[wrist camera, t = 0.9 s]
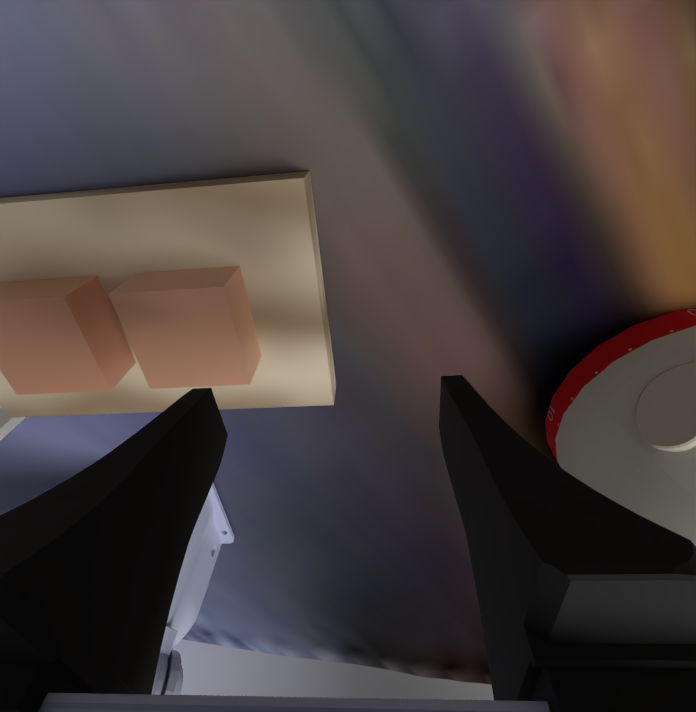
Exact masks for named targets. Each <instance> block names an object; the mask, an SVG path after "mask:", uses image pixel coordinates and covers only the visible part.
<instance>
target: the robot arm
mask: <svg viewBox="0 0 696 712" xmlns="http://www.w3.org/2000/svg"><path fill="white" fill-rule="evenodd" d="M439 429H440V436H441V442H442V448H443V454H444V458H445V462H446V466H447V469H448V473H449V476H450V480H451V483H452V486H453V490H454V493H455V497H456V500H457V503H458V507H459V510H460V514H461V517H462V521H463V524H464V528H465V532H466V536H467V541H468V547H469V552H470V557H471V563H472V568H473V573H474V579H475V585H476V590H477V596H478V602H479V607H480V613H481V619H482V625H483V631H484V638H485V644H486V650H487V656H488V663H489V669H490V676H491V682H492V688H493V695H494V700H439V699H438V700H437V699H379V698H322V697H320V698H319V697H263V696H207V695H203V696H202V695H180V693H181V688H182V682H183V669H182V665H181V657H180V654H179V652H177V651H175V650H172V647H174V646H175V645H176V644H177V643H178V642H179V641H180V640H181V639H182V638H183V637H184V636H185V635H186V634H187V633H188V631H189V630H190V628H191V627H192V626H193V624H194V622H195V620H196V618H197V616H198V614H199V611H200V608H201V605H202V602H203V599H204V596H205V593H206V590H207V587H208V584H209V581H210V578H211V575H212V572H213V569H214V566H215V563H216V560H217V557H218V554H219V551H220V548H221V544H223V543H232V542H233V541H234V534H233V531H232V529H231V526H230V524H229V521H228V519H227V516H226V514H225V511H224V509H223V506H222V504H221V501H220V499H219V496H218V493H217V491H216V488H215V486H214V483H213V481H214V479H215V476H216V474H217V471H218V469H219V466H220V463H221V460H222V456H223V452H224V448H225V444H226V440H227V436H228V435H227V432H226V429H225V426H224V423H223V421H222V418H221V415H220V412H219V409H218V406H217V403H216V400H215V397H214V394H213V391H212V389H211V388H196V389H192V390H190V391H189V392H187V393H186V394H185V395H183V396H182V397H181V398H179V399H178V400H177V401H176V402H174V403H173V404H172V405H171V406H169V407H168V408H167V409H166V410H164V411H163V412H162V413H161V414H160V415H158V416H157V417H156V418H155V419H153V420H152V421H151V422H150V423H148V424H147V425H146V426H145V427H143V428H142V429H141V430H139V431H138V432H137V433H135V434H134V435H133V436H131V437H130V438H129V439H127V440H126V441H125V442H123V443H122V444H121V445H119V446H118V447H117V448H115V449H114V450H113V451H111V452H110V453H108V454H107V455H106V456H104V457H103V458H101V459H100V460H98V461H97V462H95V463H94V464H92V465H91V466H89V467H87V468H86V469H84V470H83V471H81V472H80V473H78V474H76V475H75V476H73V477H71V478H70V479H68V480H66V481H65V482H63V483H61V484H59V485H57V486H56V487H54V488H52V489H50V490H49V491H47V492H45V493H43V494H41V495H40V496H38V497H36V498H34V499H33V500H31V501H29V502H27V503H25V504H23V505H21V506H19V507H17V508H15V509H13V510H11V511H9V512H7V513H5V514H3V515H1V516H0V712H696V546H695V545H694V544H693V543H692V541H691V540H689V539H687V538H685V537H683V536H681V535H679V534H677V533H675V532H673V531H671V530H669V529H666V528H664V527H662V526H660V525H658V524H656V523H654V522H652V521H650V520H648V519H646V518H644V517H642V516H640V515H638V514H636V513H634V512H632V511H631V510H629V509H627V508H625V507H624V506H622V505H620V504H618V503H616V502H615V501H613V500H611V499H609V498H607V497H606V496H604V495H602V494H601V493H599V492H597V491H596V490H594V489H592V488H591V487H589V486H588V485H586V484H585V483H583V482H581V481H580V480H578V479H577V478H575V477H574V476H572V475H571V474H569V473H568V472H566V471H565V470H563V469H562V468H560V467H559V466H558V465H556V464H555V463H553V462H552V461H551V460H550V459H548V458H547V457H546V456H544V455H543V454H542V453H540V452H539V451H538V450H536V449H535V448H534V447H533V446H532V445H530V444H529V443H528V442H527V441H526V440H525V439H523V438H522V437H521V436H520V435H519V434H518V433H517V432H516V431H514V430H513V429H512V428H511V427H510V426H509V425H508V424H507V423H506V422H505V421H504V420H503V419H502V418H501V417H500V416H499V415H498V414H497V413H496V412H495V411H494V410H493V409H492V408H491V407H490V406H489V405H488V404H487V403H486V401H485V400H484V399H483V398H482V397H481V396H480V395H479V394H478V393H477V391H476V390H475V389H474V388H473V387H472V386H471V384H470V383H469V382H468V381H467V380H466V379H465V378H464V377H463V376H462V375H457V376H441V395H440V419H439Z"/></svg>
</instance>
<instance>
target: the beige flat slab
mask: <svg viewBox="0 0 696 712" xmlns="http://www.w3.org/2000/svg"><path fill="white" fill-rule="evenodd" d="M230 266H240V267H241V271H242V276H243V280H244V284H245V288H246V293H247V297H248V301H249V305H250V309H251V314H252V318H253V322H254V326H255V330H256V335H257V339H258V343H259V347H260V351H261V356H262V357H261V359H260V362H259V364H258V366H257V369H256V371H255V374H254V376H253V378H252V381H251V383H250V385H227V386H205V387H182V388H159V389H150V388H149V385H148V383H147V381H146V379H145V376H144V374H143V372H142V369H141V367H140V365H139V363H138V360H137V358H136V356H135V354H134V351H133V349H132V347H131V344H130V342H129V340H128V338H127V335H126V333H125V331H124V328H123V326H122V324H121V322H120V319H119V317H118V315H117V313H116V310H115V308H114V306H113V303H112V301H111V299H110V297H109V293H111V292H112V291H113V290H115V289H116V288H118V287H119V286H120V285H122V284H123V283H124V282H126V281H127V280H128V279H130V278H131V277H133V276H134V275H135V274H137V273H142V272H157V271H172V270H186V269H201V268H215V267H230ZM84 276H98V278H99V280H100V282H101V284H102V287H103V289H104V291H105V293H106V296H107V298H108V300H109V302H110V305H111V307H112V309H113V311H114V314H115V316H116V318H117V320H118V323H119V325H120V327H121V329H122V332H123V334H124V336H125V339H126V341H127V343H128V345H129V348H130V350H131V352H132V354H133V357H134V359H135V361H136V363H135V365H134V366H133V367H132V368H131V369H130V370H129V371H128V372H127V374H126V375H125V376H124V377H123V378H122V379H121V380H120V381H119V382H118V384H117V385H116V386H115V387H114V388H113V389H112V390H111V391H92V392H69V393H46V394H24V395H17V394H16V393H15V391H14V390H13V388H12V387H11V385H10V384H9V382H8V381H7V379H6V378H5V376H4V375H3V373H2V372H1V370H0V405H1V407H2V408H3V410H4V411H5V412H6V414H7V415H8V417H9V418H14V417H40V416H65V415H91V414H116V413H142V412H163V411H164V410H166V409H167V408H168V407H169V406H171V405H172V404H173V403H174V402H176V401H177V400H178V399H179V398H181V397H182V396H183V395H185V394H186V393H187V392H189V391H190V390H192V389H196V388H211V389H212V391H213V394H214V397H215V400H216V403H217V406H218V409H243V408H269V407H294V406H320V405H334V398H335V389H336V379H335V371H334V363H333V355H332V347H331V339H330V331H329V323H328V315H327V307H326V299H325V291H324V282H323V274H322V266H321V258H320V250H319V242H318V234H317V226H316V218H315V210H314V202H313V194H312V186H311V177H310V171H303V172H292V173H280V174H269V175H257V176H246V177H234V178H223V179H211V180H200V181H188V182H177V183H165V184H154V185H142V186H131V187H119V188H107V189H96V190H84V191H73V192H61V193H50V194H38V195H27V196H15V197H4V198H0V282H11V281H26V280H40V279H55V278H70V277H84Z"/></svg>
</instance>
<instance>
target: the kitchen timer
mask: <svg viewBox="0 0 696 712" xmlns="http://www.w3.org/2000/svg"><path fill="white" fill-rule="evenodd" d="M545 424H546V435H547V443H548V445H549V447H550V449H551V451H552V452H553V454H554V456H555V458H556V460H557V462H558V463H559V465H560V467H561V468H562V469H563V470H565V471H566V472H568V473H569V474H571V475H572V476H574V477H575V478H577V479H578V480H580V481H581V482H583V483H585V484H586V485H588V486H589V487H591V488H592V489H594V490H596V491H597V492H599V493H601V494H602V495H604V496H606V497H607V498H609V499H611V500H613V501H615V502H616V503H618V504H620V505H622V506H624V507H625V508H627V509H629V510H631V511H632V512H634V513H636V514H638V515H640V516H642V517H644V518H646V519H648V520H650V521H652V522H654V523H656V524H658V525H660V526H662V527H664V528H666V529H669V530H671V531H673V532H675V533H677V534H679V535H681V536H683V537H685V538H687V539H689V540H691V541H692V543H693V544H694V545H695V546H696V308H695V309H688V310H680V311H674V312H671V313H668V314H665V315H662V316H659V317H656V318H653V319H651V320H648V321H645V322H642V323H639V324H636V325H633V326H632V327H630V328H628V329H627V330H625V331H623V332H621V333H620V334H618V335H616V336H614V337H613V338H611V339H609V340H608V341H606V342H604V343H602V344H601V345H599V346H597V347H596V348H595V349H594V350H593V351H592V352H591V353H590V354H588V355H587V356H586V357H585V358H584V359H583V360H582V361H581V362H580V363H578V364H577V365H576V366H575V367H574V368H573V369H572V370H571V371H570V372H569V373H568V375H567V376H566V378H565V379H564V381H563V382H562V384H561V385H560V386H559V388H558V389H557V391H556V392H555V394H554V395H553V397H552V400H551V403H550V407H549V410H548V413H547V416H546V420H545Z"/></svg>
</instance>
